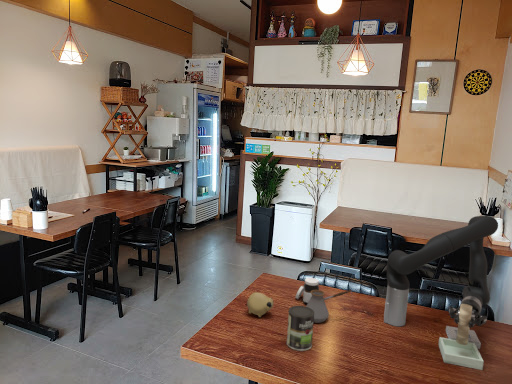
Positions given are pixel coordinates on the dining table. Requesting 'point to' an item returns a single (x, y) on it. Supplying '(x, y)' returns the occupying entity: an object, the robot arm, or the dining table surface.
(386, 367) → the dining table surface
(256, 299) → the toy pig
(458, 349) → the tray
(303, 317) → the coffee can
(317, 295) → the coffee pot
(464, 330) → the dowel
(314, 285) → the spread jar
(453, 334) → the socket block
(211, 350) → the dining table surface
